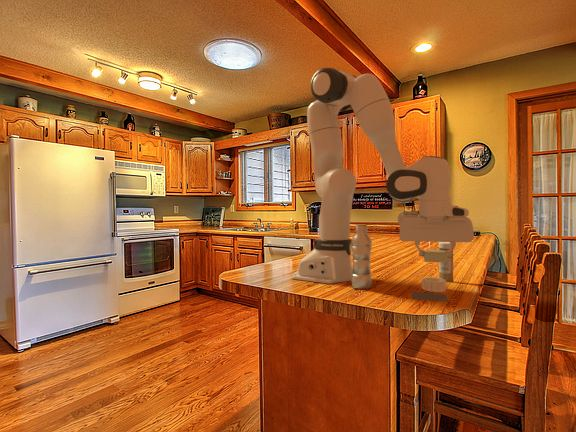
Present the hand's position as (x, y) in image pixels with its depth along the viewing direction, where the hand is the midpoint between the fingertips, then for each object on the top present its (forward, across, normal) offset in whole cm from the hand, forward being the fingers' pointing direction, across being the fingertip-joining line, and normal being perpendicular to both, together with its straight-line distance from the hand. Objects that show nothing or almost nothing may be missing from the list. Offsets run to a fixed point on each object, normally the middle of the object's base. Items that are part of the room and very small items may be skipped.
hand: (434, 256), depth 94 cm
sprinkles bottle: (+11, +4, +14) cm, 18 cm away
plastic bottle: (+10, -21, -4) cm, 24 cm away
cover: (+1, 0, 0) cm, 1 cm away
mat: (+10, -2, -9) cm, 14 cm away
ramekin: (+10, 0, 0) cm, 11 cm away
